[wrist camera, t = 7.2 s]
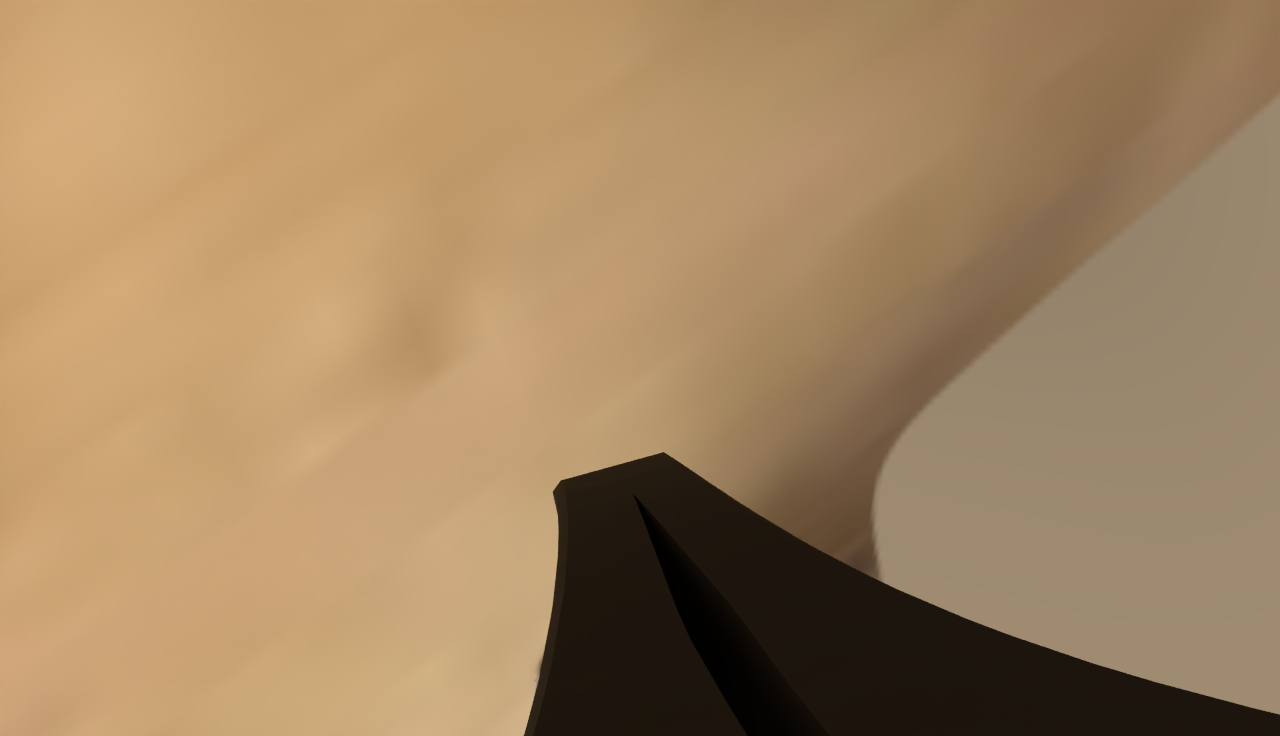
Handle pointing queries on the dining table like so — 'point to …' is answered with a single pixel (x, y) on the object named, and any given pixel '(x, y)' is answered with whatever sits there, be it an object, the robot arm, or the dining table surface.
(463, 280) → the dining table surface
